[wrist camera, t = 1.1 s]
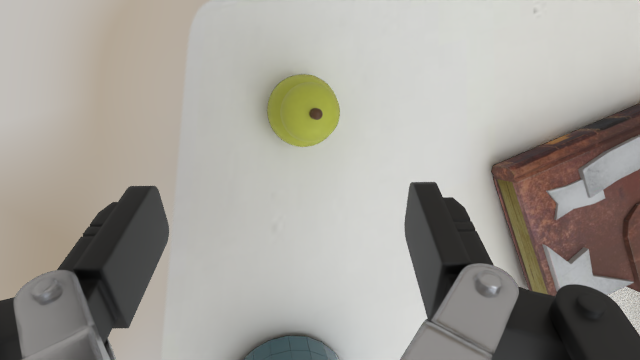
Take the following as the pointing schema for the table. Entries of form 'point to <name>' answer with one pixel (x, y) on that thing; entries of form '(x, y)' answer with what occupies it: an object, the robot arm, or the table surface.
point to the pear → (303, 110)
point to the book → (577, 207)
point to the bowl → (292, 350)
